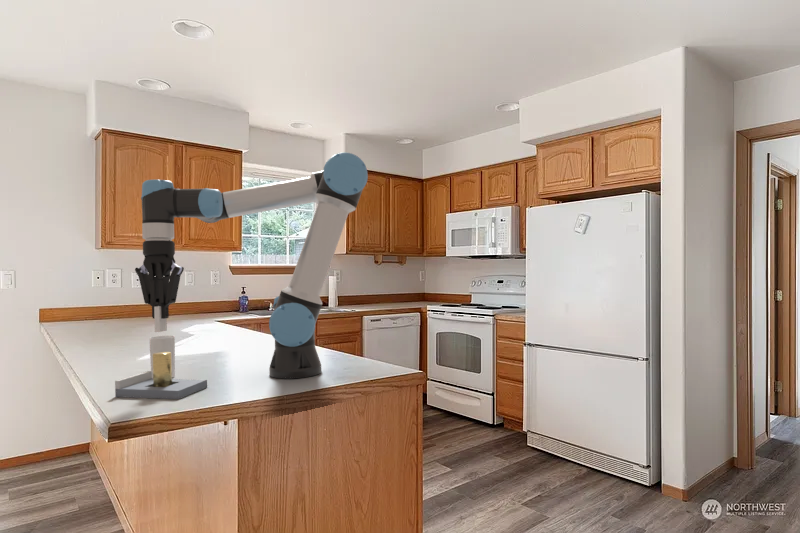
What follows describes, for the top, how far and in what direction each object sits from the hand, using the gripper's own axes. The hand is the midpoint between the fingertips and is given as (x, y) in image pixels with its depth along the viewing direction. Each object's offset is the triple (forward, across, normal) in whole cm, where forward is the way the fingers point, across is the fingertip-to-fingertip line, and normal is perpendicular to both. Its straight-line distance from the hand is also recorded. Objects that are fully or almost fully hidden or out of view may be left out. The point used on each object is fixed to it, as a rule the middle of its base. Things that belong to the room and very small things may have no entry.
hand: (160, 331), depth 132 cm
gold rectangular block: (+16, 0, 0) cm, 16 cm away
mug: (+16, +12, -17) cm, 26 cm away
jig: (+16, 0, 0) cm, 16 cm away
